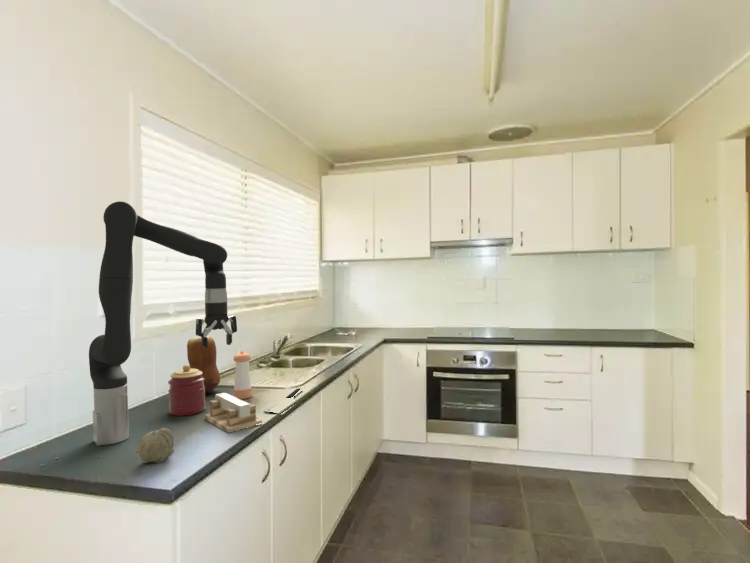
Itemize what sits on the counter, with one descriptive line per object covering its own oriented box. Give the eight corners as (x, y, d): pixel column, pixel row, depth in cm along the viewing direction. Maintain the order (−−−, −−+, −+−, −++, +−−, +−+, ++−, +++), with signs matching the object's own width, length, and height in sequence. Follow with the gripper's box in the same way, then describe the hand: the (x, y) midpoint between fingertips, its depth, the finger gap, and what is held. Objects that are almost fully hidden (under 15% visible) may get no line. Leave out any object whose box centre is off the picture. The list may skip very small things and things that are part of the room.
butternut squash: (200, 388, 202) (199, 333, 202) (226, 390, 199) (225, 334, 198) (179, 396, 189) (178, 338, 188) (206, 398, 185) (205, 339, 185)
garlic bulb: (171, 463, 128) (183, 429, 130) (162, 471, 120) (175, 434, 122) (138, 455, 127) (151, 420, 129) (127, 463, 119) (141, 425, 121)
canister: (192, 417, 162) (191, 369, 161) (161, 415, 164) (159, 368, 164) (212, 406, 175) (211, 361, 174) (183, 404, 177) (181, 360, 177)
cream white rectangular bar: (250, 415, 150) (249, 403, 150) (240, 418, 148) (240, 406, 148) (224, 403, 165) (224, 392, 165) (215, 405, 163) (215, 394, 162)
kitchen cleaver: (287, 413, 163) (262, 408, 165) (287, 417, 163) (261, 413, 165) (315, 390, 194) (293, 387, 196) (315, 394, 194) (293, 391, 196)
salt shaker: (238, 400, 183) (237, 353, 182) (231, 396, 188) (230, 351, 188) (254, 396, 188) (254, 351, 187) (247, 393, 193) (246, 349, 193)
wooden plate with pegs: (261, 424, 153) (261, 405, 153) (228, 433, 145) (228, 413, 145) (236, 411, 168) (235, 394, 168) (204, 418, 160) (204, 400, 160)
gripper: (230, 299, 167) (231, 342, 167) (192, 301, 157) (193, 347, 158) (239, 300, 161) (240, 344, 162) (200, 302, 152) (201, 350, 152)
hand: (217, 346), depth 160 cm, fingers open, 8 cm apart
